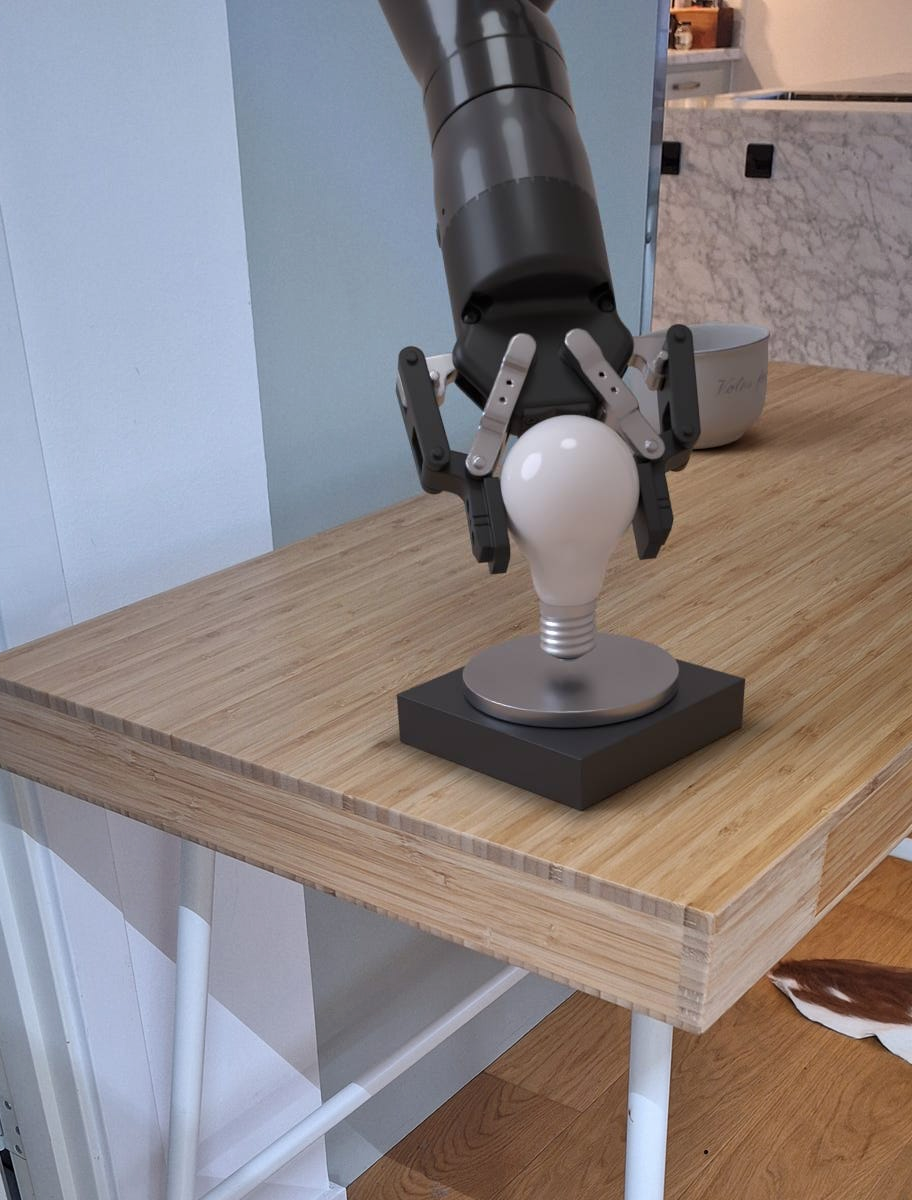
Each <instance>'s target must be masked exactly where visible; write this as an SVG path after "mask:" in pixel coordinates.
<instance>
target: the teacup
mask: <svg viewBox="0 0 912 1200" xmlns="http://www.w3.org/2000/svg"><path fill="white" fill-rule="evenodd" d="M684 325H685V324H684ZM685 326H687V327H688V328H689V329H690V330H691V332H692V336H693V347H694V358H695V370H696V381H697V393H698V404H699V416H700V427H701V434H700V437H699V439H698V441H697V443H696V444H695V446H694V448H693V450H700V449H709V448H715V447H720V446H725V445H729V444H731V443H733V442H736V441H737V440H739V439H740V438H742V436H743V435H744V434H745V433H746V431H747V430H748V429H750V427H751V426H753V425H754V424H756V421H758V419H759V418H760V416H761V415H762V412H763V410H764V407H765V404H766V398H767V397H766V396H767V387H768V370H769V369H768V368H769V340H770V337H771V331H770V329H769V328H768V327H766V326H763V325H759V324H756V323H755V324H754V323H747V322H722V321H720V320H713V321H707V322H706V323H695V324H687V325H685ZM669 328H670V327H666V328H662V329H659V330H654V331H650V332H647V333H644V334H641V335H639V336H637V337H666V334H667V331H668V329H669ZM630 382H631V383H630V384H631V392H632V393H633V394H634V395H635V397H636V398H637V400H638V403H639V409H640V412H641V414H642V415H643V416H644V418H645V419H646V420H647V421H648V423H649V424H650V425H651V426H652V428H653V429H654V430H655V431H656V433H657V434H658V435H659V434H660V423H659V411H658V399H657V390H655V391H651V390H649V389H648V387H647V384H646V383H645V381H644V378H643V375H642V373H641V372H640V370H638V369H637V368H635V367H632V366H630Z"/></svg>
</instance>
